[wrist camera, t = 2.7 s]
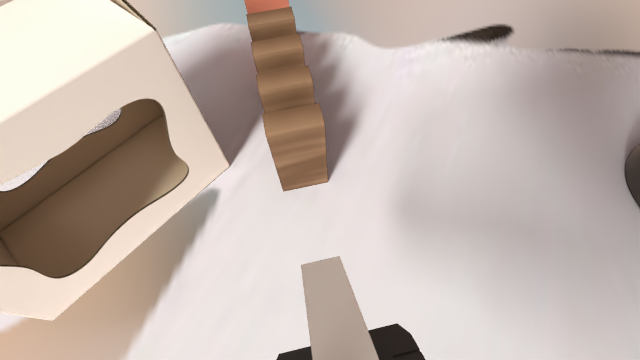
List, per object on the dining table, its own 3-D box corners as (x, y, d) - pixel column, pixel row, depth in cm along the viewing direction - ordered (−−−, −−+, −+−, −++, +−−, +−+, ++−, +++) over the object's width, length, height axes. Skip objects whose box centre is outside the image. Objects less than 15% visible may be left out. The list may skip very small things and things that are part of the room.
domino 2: (303, 88, 42) (294, 18, 34) (266, 95, 42) (248, 26, 34) (300, 77, 44) (291, 6, 35) (264, 84, 43) (246, 14, 35)
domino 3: (310, 115, 40) (302, 47, 31) (271, 123, 40) (253, 56, 31) (307, 103, 41) (299, 33, 32) (269, 110, 41) (250, 42, 32)
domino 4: (318, 146, 37) (312, 81, 29) (277, 155, 37) (258, 91, 29) (314, 132, 39) (308, 65, 30) (274, 140, 38) (256, 75, 30)
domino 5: (327, 182, 35) (324, 121, 26) (283, 191, 35) (265, 133, 26) (323, 165, 36) (319, 102, 27) (280, 174, 36) (262, 113, 27)
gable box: (166, 112, 42) (-71, -237, 17) (232, 164, 37) (32, -217, 13) (-6, 237, 34) (-878, -90, 9) (50, 324, 29) (-1420, 112, 5)
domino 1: (297, 64, 45) (287, -7, 36) (262, 70, 45) (244, 0, 36) (294, 54, 46) (284, -17, 38) (260, 60, 46) (242, -10, 37)
